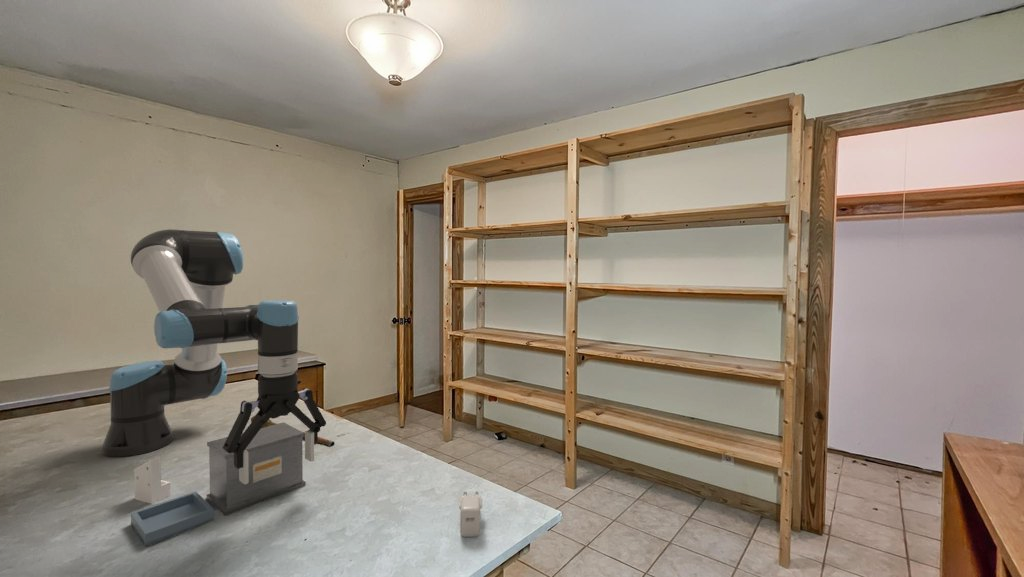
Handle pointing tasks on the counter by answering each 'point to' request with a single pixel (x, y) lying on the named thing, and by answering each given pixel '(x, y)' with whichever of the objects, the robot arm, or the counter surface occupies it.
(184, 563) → the counter surface
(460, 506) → the power adapter
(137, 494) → the white wedge bracket
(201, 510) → the tray
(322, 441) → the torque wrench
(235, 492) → the box
